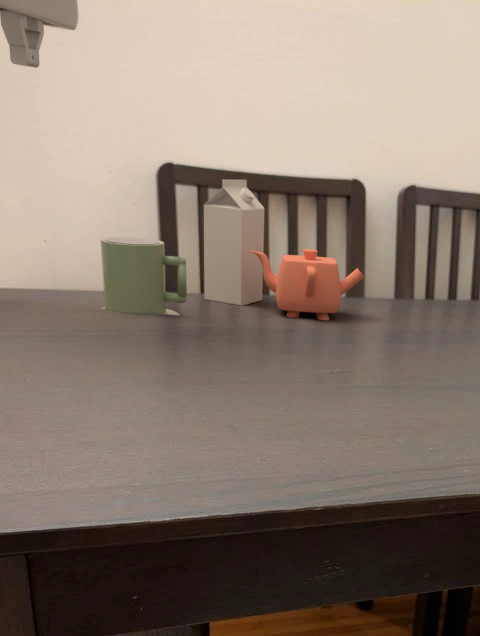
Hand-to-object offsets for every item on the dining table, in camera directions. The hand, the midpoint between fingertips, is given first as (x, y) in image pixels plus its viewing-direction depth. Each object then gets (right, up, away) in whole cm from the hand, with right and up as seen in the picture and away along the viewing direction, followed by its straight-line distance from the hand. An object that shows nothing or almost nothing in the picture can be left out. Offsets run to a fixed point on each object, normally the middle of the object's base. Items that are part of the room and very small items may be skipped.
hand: (25, 66), depth 79 cm
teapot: (+28, -19, +38) cm, 51 cm away
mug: (+4, -22, +25) cm, 34 cm away
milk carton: (+15, -15, +44) cm, 49 cm away
